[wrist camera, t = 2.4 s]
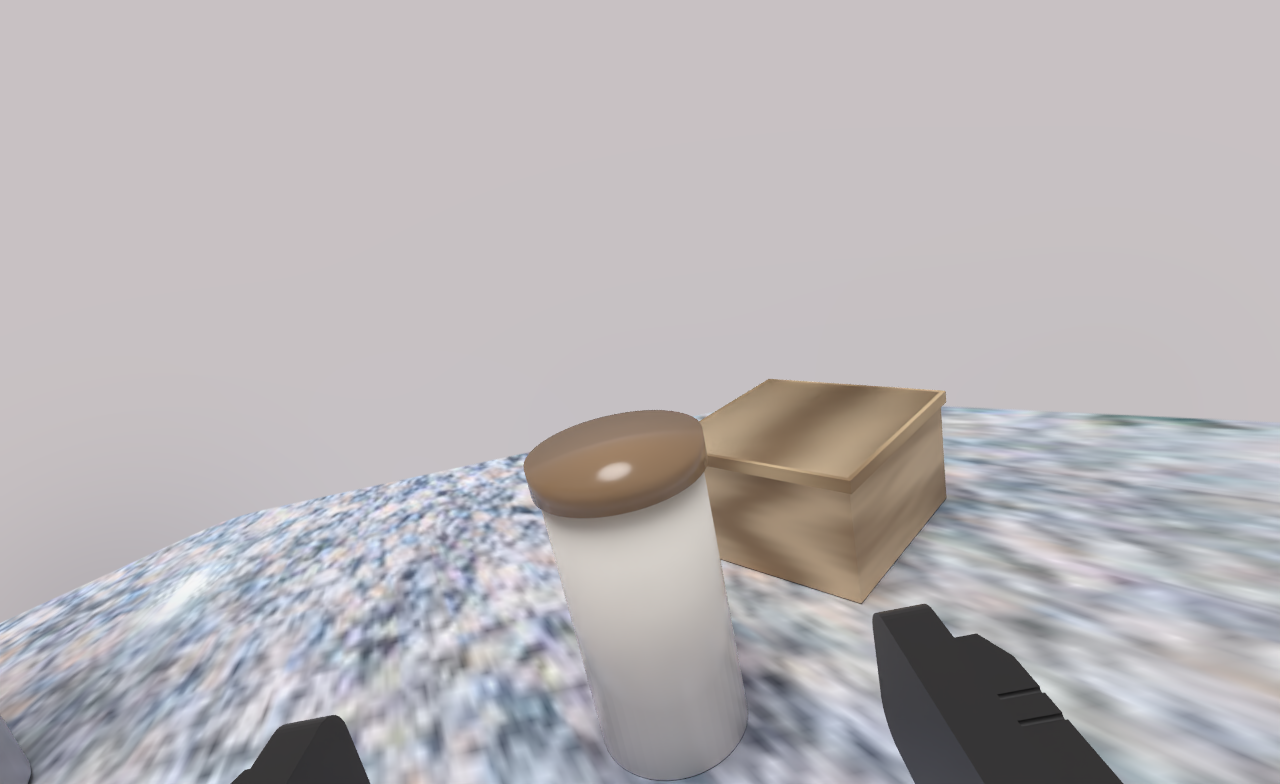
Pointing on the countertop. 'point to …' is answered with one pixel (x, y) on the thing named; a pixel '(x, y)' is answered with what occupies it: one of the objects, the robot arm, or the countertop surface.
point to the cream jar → (644, 587)
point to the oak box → (824, 479)
